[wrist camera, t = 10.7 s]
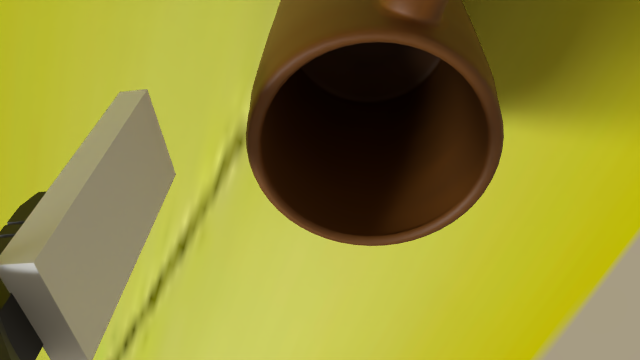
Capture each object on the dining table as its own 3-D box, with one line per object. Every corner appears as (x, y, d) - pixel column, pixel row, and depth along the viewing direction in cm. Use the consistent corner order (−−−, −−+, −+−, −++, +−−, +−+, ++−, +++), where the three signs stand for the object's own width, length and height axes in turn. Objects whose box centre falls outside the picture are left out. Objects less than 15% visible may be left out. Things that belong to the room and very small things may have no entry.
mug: (329, -236, 19) (309, -225, 12) (546, -170, 20) (662, -118, 12) (262, 85, 26) (222, 222, 19) (424, 124, 27) (450, 272, 19)
